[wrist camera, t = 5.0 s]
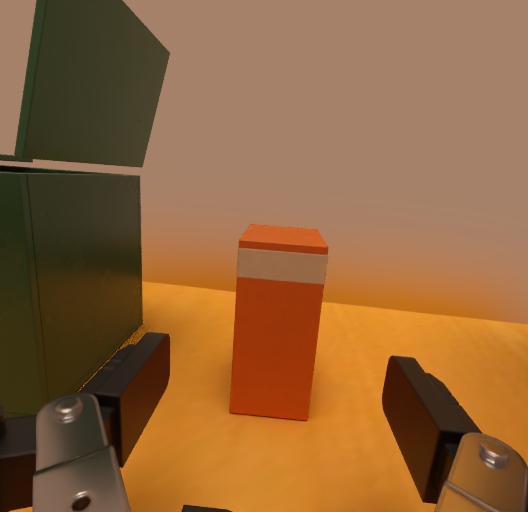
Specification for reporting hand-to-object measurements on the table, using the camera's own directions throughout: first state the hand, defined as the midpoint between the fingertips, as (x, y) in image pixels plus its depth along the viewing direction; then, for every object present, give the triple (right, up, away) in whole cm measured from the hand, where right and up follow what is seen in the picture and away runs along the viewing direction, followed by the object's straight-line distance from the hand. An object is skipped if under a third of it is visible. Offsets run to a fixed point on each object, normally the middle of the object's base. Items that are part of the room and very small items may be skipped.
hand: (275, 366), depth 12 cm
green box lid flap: (-9, +13, +6) cm, 17 cm away
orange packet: (0, -4, +9) cm, 10 cm away
